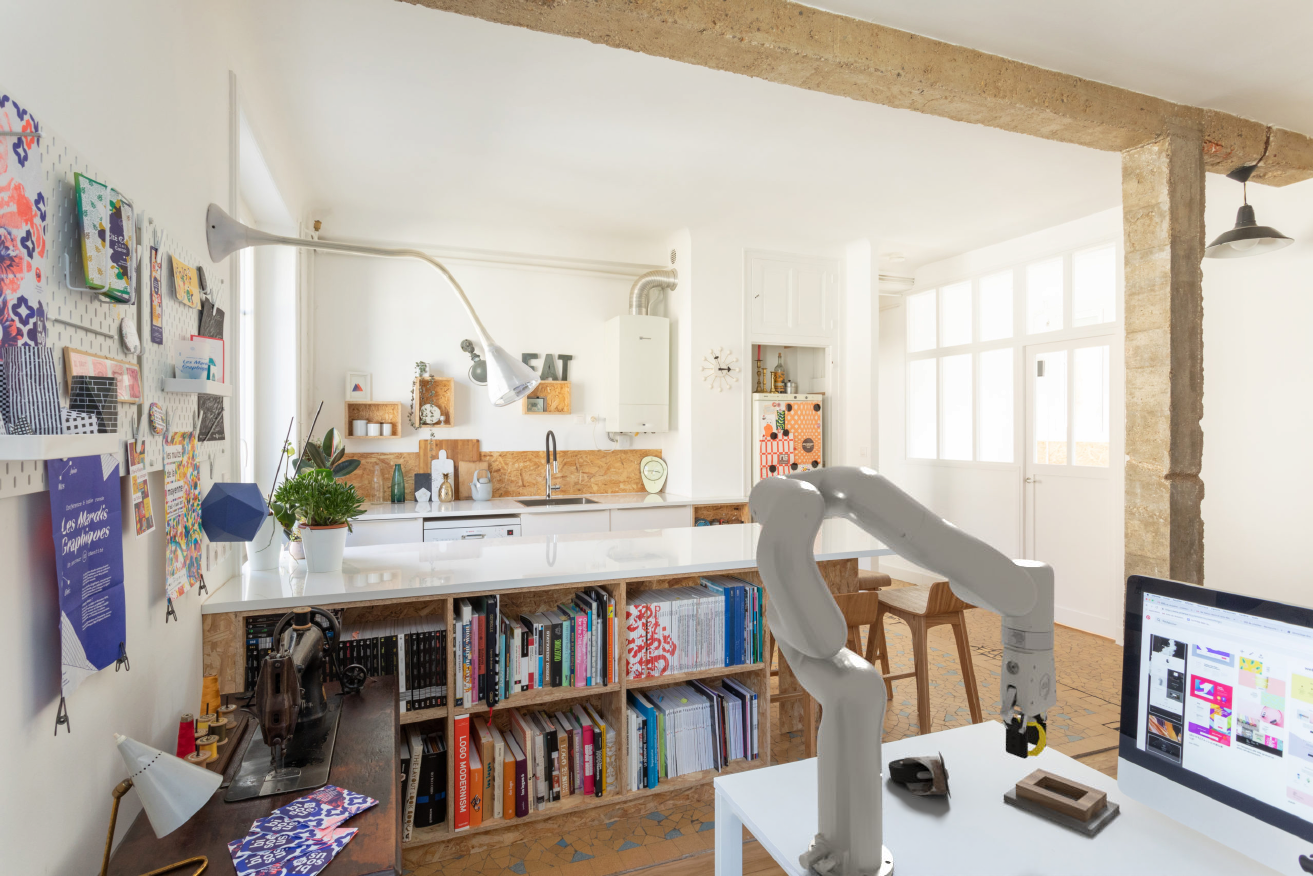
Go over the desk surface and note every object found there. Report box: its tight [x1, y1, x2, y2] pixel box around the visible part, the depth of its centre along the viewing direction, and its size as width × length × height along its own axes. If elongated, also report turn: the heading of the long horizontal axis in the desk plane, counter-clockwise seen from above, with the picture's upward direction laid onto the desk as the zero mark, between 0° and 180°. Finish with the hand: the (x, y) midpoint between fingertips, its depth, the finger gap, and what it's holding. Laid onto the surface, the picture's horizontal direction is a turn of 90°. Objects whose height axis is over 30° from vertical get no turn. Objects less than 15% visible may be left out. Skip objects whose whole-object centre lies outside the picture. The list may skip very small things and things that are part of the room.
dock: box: [1003, 768, 1120, 837], centre depth 120 cm, size 12×14×3 cm
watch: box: [1016, 715, 1047, 757], centre depth 111 cm, size 6×3×6 cm, turn 94°
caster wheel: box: [888, 751, 952, 800], centre depth 127 cm, size 7×11×10 cm
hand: (1026, 748), depth 111 cm, fingers closed on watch, 5 cm apart
